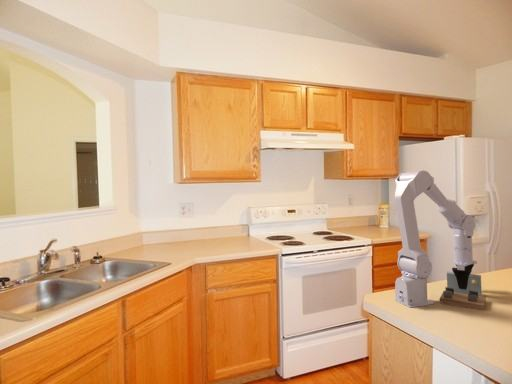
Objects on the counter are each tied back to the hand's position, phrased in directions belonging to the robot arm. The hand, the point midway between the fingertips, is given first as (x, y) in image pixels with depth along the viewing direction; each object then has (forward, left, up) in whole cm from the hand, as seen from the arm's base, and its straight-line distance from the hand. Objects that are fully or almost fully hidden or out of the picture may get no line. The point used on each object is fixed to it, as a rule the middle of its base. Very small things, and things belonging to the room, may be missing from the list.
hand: (463, 286), depth 112 cm
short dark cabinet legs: (-8, -6, -1) cm, 10 cm away
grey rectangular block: (0, 0, -3) cm, 3 cm away
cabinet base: (-8, -6, -3) cm, 10 cm away
